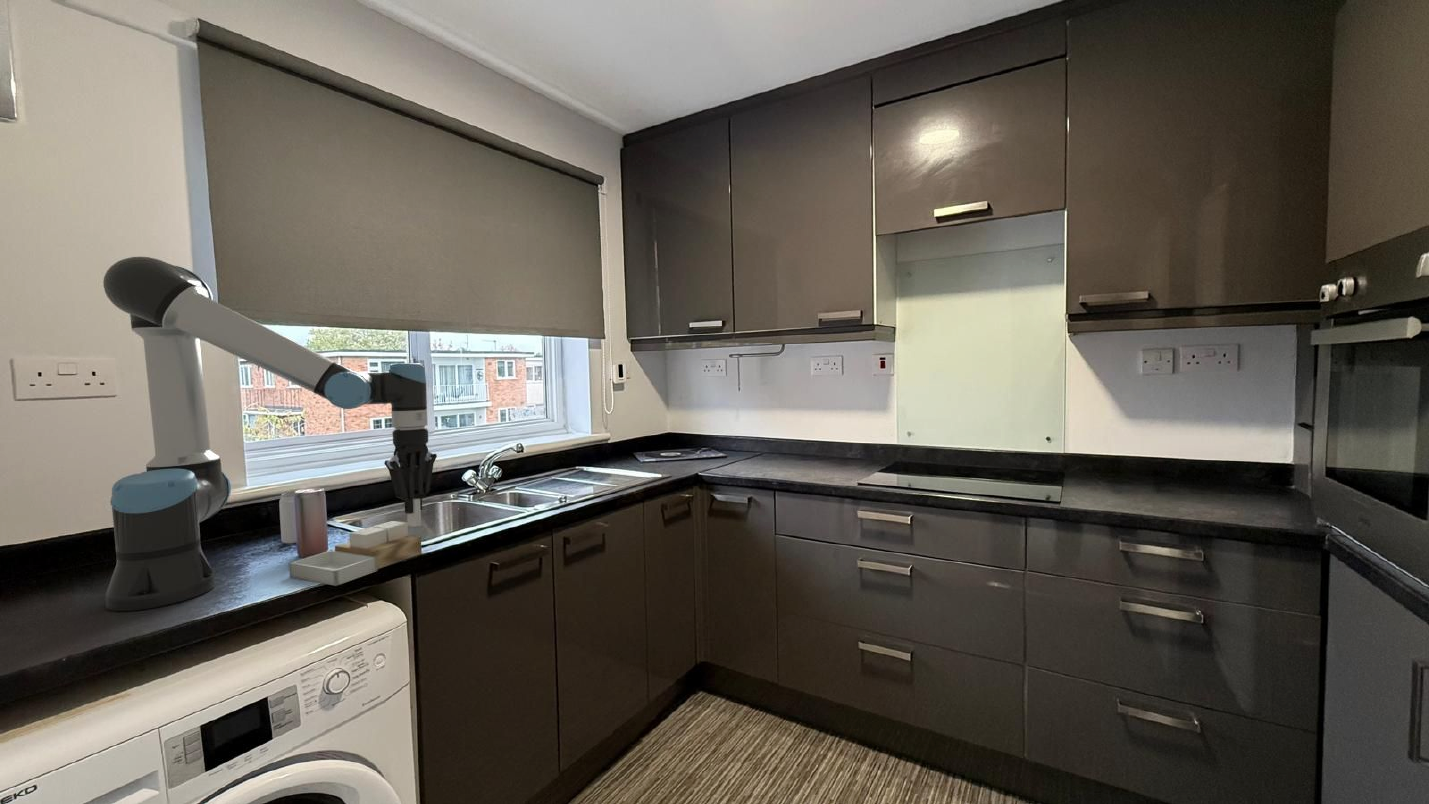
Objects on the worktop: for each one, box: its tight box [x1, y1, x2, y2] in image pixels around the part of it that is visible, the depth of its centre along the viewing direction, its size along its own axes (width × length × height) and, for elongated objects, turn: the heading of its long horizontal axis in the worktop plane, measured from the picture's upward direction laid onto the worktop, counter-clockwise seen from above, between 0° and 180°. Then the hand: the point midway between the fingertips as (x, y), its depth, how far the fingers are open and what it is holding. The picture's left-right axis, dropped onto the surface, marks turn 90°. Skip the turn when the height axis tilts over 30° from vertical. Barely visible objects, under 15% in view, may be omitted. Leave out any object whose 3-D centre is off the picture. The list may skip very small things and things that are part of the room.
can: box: [278, 491, 297, 545], centre depth 147 cm, size 6×6×12 cm
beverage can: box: [294, 487, 329, 559], centre depth 135 cm, size 6×6×15 cm
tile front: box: [348, 526, 387, 549], centre depth 129 cm, size 5×5×3 cm
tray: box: [288, 549, 378, 587], centre depth 122 cm, size 9×14×3 cm, turn 68°
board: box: [334, 534, 423, 570], centre depth 132 cm, size 12×12×4 cm
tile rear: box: [371, 520, 409, 542], centre depth 134 cm, size 5×5×3 cm
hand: (414, 525), depth 140 cm, fingers closed
